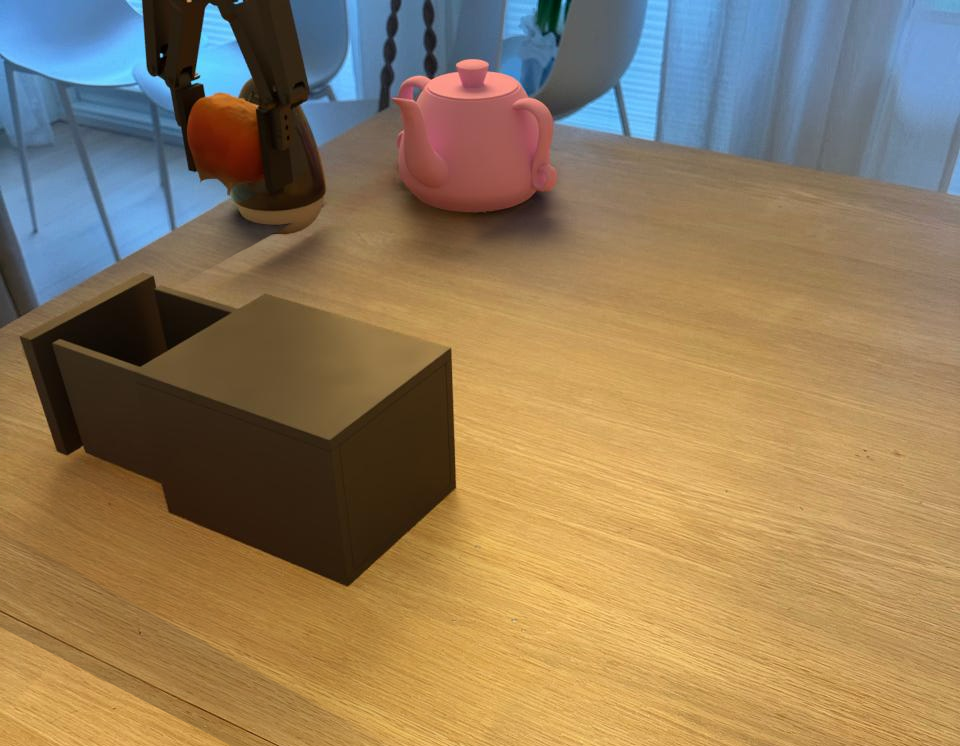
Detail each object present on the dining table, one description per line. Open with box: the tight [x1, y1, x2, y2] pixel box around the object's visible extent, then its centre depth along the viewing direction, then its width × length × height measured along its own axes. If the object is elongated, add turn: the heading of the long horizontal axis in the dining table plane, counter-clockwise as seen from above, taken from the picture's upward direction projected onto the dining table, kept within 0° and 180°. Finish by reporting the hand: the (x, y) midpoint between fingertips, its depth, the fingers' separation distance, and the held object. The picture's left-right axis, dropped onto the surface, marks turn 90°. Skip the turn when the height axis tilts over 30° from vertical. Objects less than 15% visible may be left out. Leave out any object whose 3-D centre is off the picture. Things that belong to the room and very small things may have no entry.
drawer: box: [19, 272, 239, 484], centre depth 83 cm, size 20×12×10 cm, turn 58°
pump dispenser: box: [230, 77, 327, 235], centre depth 114 cm, size 10×10×15 cm
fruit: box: [187, 91, 265, 197], centre depth 93 cm, size 8×8×8 cm
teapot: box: [390, 58, 558, 213], centre depth 119 cm, size 22×22×14 cm
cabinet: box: [133, 293, 457, 587], centre depth 77 cm, size 17×14×12 cm
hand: (240, 175), depth 95 cm, fingers closed on fruit, 8 cm apart
